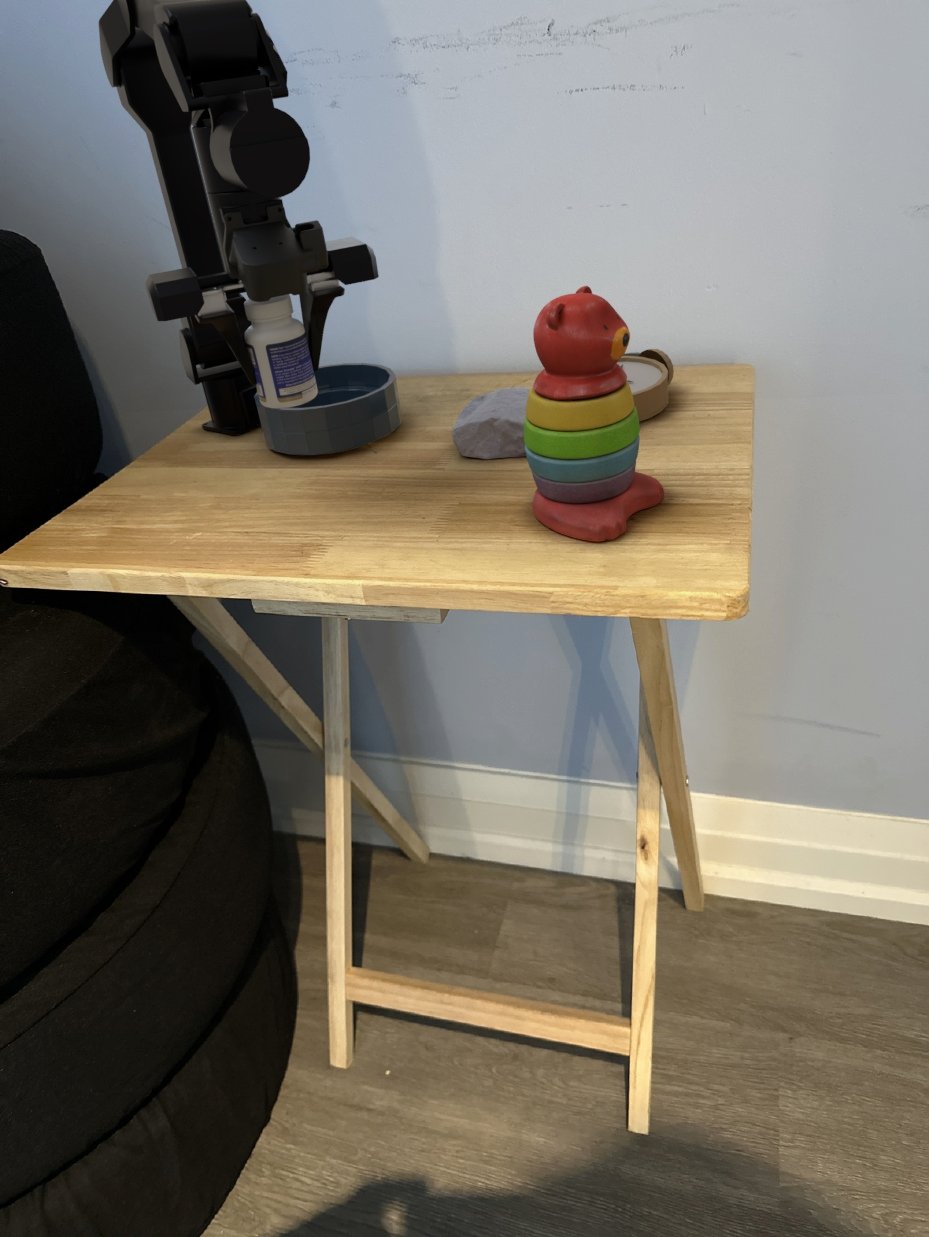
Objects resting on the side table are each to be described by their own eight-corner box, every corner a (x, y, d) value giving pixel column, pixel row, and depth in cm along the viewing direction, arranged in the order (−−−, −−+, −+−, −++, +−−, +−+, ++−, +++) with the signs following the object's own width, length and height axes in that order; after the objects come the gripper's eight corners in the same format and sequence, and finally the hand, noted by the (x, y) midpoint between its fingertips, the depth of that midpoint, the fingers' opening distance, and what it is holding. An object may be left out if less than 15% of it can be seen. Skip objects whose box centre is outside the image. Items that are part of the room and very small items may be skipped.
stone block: (454, 477, 92) (551, 454, 89) (439, 431, 90) (537, 407, 87) (478, 436, 102) (565, 415, 99) (464, 395, 100) (553, 372, 97)
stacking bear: (609, 547, 72) (599, 316, 63) (504, 524, 78) (481, 309, 69) (673, 493, 79) (672, 278, 70) (572, 475, 85) (559, 274, 76)
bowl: (238, 448, 102) (225, 400, 99) (334, 403, 112) (325, 358, 109) (334, 469, 93) (323, 417, 91) (430, 418, 103) (423, 369, 100)
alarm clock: (544, 399, 95) (586, 331, 105) (550, 440, 98) (590, 371, 108) (652, 401, 91) (685, 331, 100) (655, 445, 94) (687, 372, 104)
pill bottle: (328, 389, 85) (309, 289, 80) (301, 410, 81) (279, 306, 76) (277, 389, 86) (255, 291, 82) (249, 409, 82) (224, 308, 78)
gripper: (131, 219, 65) (191, 429, 74) (382, 176, 70) (411, 378, 78) (121, 202, 74) (175, 391, 83) (344, 165, 79) (373, 347, 87)
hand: (284, 377), depth 82 cm, fingers closed on pill bottle, 5 cm apart
